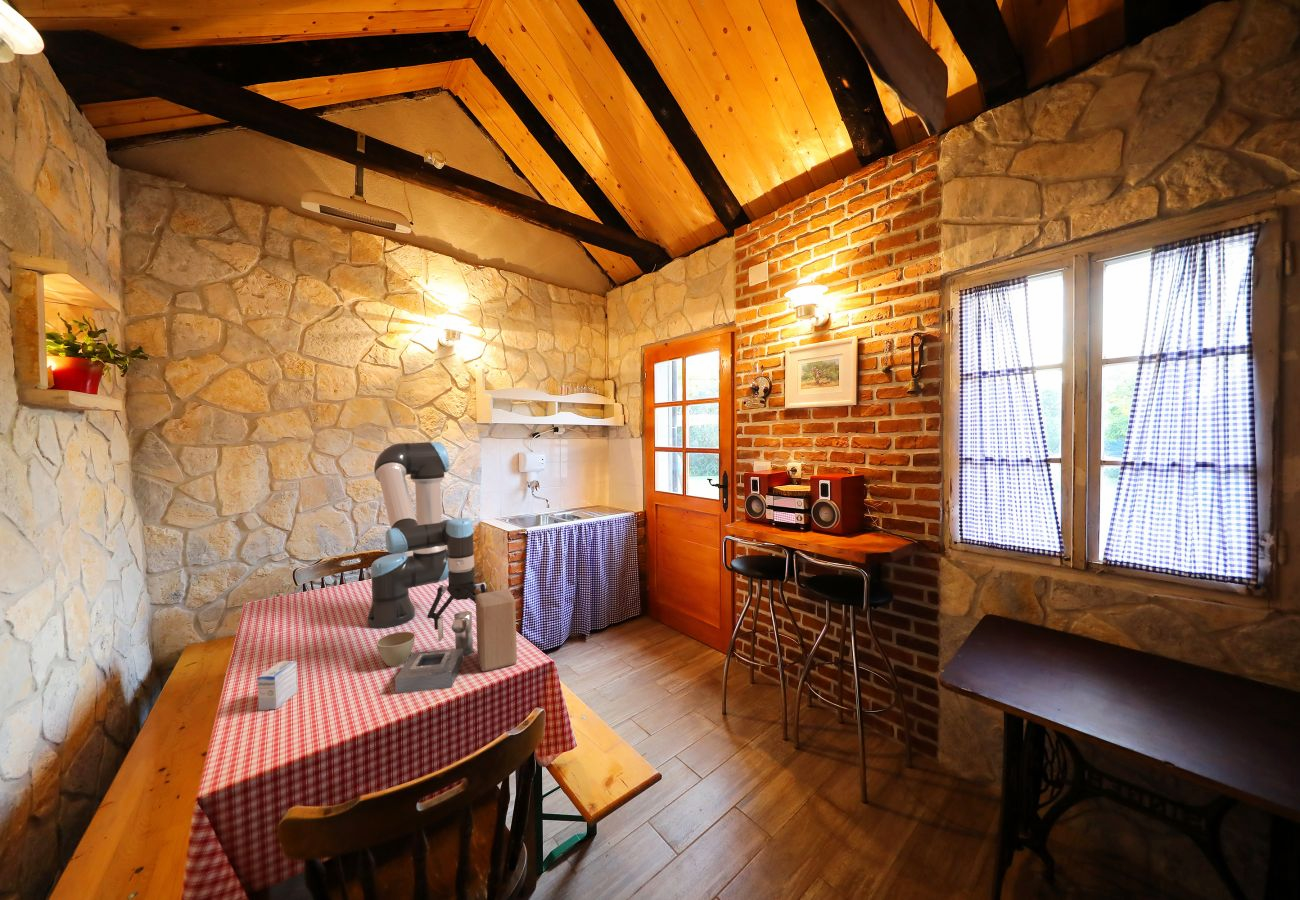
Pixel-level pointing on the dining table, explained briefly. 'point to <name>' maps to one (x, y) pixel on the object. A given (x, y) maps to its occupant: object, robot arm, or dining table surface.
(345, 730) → the dining table surface
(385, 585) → the robot arm
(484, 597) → the block
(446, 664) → the duct socket
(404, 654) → the flower pot
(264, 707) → the medicine box
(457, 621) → the elbow
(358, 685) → the dining table surface
